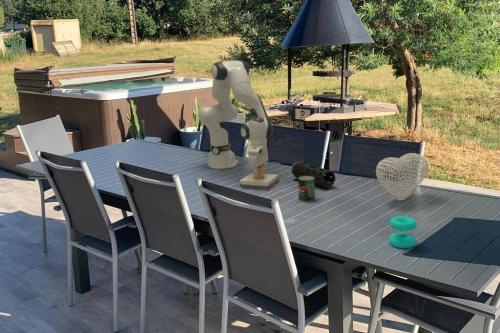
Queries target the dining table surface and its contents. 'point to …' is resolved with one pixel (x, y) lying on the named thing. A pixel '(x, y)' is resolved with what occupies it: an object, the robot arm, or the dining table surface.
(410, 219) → the donuts
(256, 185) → the socket block
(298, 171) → the muzzle brake
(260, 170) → the plug
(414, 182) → the heart
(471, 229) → the dining table surface
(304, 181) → the canned tomato
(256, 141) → the robot arm
